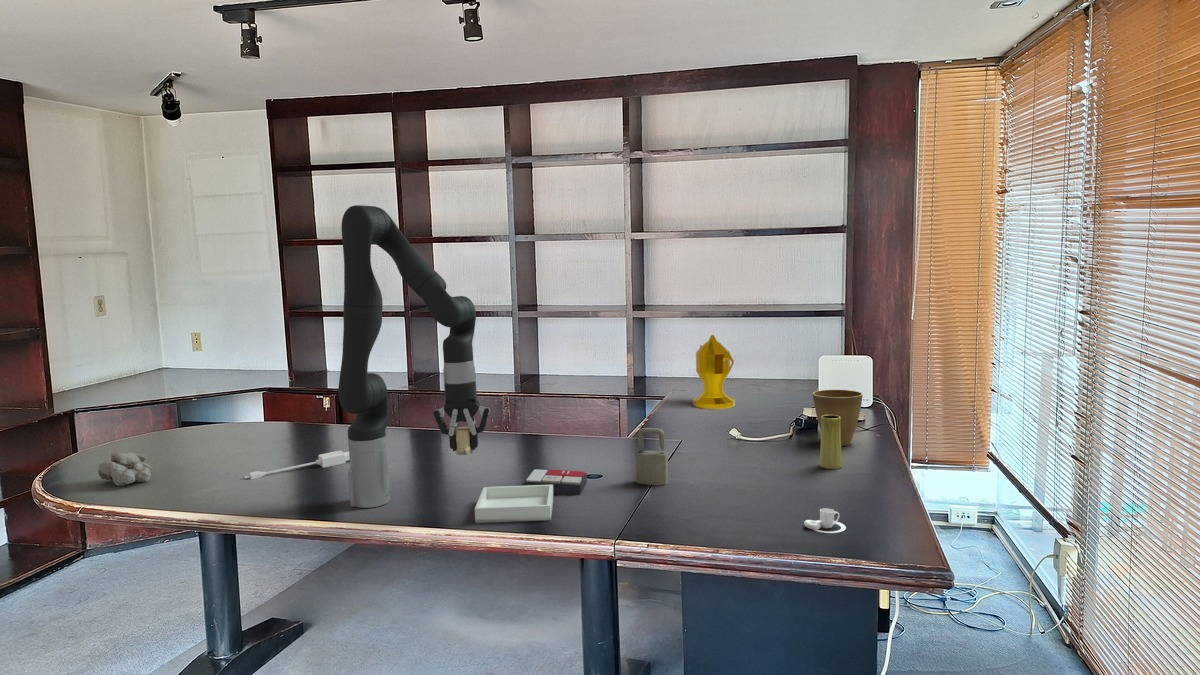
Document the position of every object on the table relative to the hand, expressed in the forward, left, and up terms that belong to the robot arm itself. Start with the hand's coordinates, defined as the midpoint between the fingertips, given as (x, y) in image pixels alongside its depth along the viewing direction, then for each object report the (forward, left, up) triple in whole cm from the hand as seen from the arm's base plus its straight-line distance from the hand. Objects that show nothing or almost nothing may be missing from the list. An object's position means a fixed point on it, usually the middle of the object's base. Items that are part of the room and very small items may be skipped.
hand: (464, 449), depth 188 cm
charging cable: (-56, +46, -16) cm, 74 cm away
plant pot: (+108, +52, -16) cm, 121 cm away
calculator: (+21, +17, -16) cm, 31 cm away
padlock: (+47, +18, -16) cm, 53 cm away
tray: (+12, 0, -16) cm, 20 cm away
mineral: (-104, +37, -16) cm, 111 cm away
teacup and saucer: (+81, -16, -16) cm, 84 cm away
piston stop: (0, 0, -1) cm, 1 cm away
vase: (+98, +27, -16) cm, 103 cm away
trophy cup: (+81, +119, -16) cm, 145 cm away
